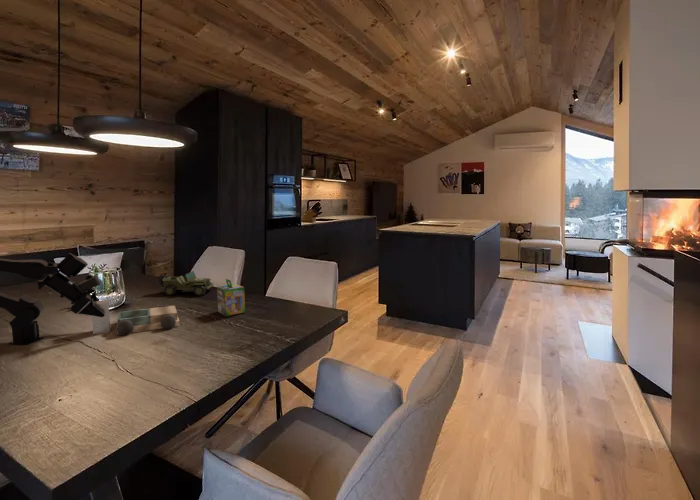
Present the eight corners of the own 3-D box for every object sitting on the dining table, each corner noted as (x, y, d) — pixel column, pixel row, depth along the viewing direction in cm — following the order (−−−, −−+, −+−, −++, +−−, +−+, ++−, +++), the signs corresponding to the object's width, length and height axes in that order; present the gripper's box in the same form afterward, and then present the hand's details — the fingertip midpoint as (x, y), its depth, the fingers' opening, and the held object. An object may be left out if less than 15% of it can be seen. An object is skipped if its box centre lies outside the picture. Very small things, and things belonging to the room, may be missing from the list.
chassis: (117, 336, 132) (116, 322, 131) (118, 322, 147) (118, 309, 147) (180, 327, 142) (179, 314, 141) (175, 314, 158) (175, 303, 157)
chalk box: (245, 313, 162) (244, 279, 160) (224, 316, 156) (223, 282, 154) (237, 308, 169) (236, 276, 167) (216, 311, 163) (215, 278, 161)
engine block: (93, 334, 134) (90, 304, 132) (94, 330, 138) (92, 301, 136) (109, 332, 136) (107, 303, 135) (110, 328, 140) (108, 299, 139)
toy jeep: (206, 296, 189) (206, 275, 187) (157, 295, 189) (156, 274, 187) (215, 290, 201) (214, 270, 199) (169, 290, 201) (168, 270, 199)
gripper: (79, 273, 124) (121, 301, 131) (86, 265, 140) (122, 290, 147) (52, 299, 121) (95, 326, 128) (61, 287, 137) (99, 312, 144)
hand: (104, 312), depth 137 cm, fingers open, 9 cm apart
